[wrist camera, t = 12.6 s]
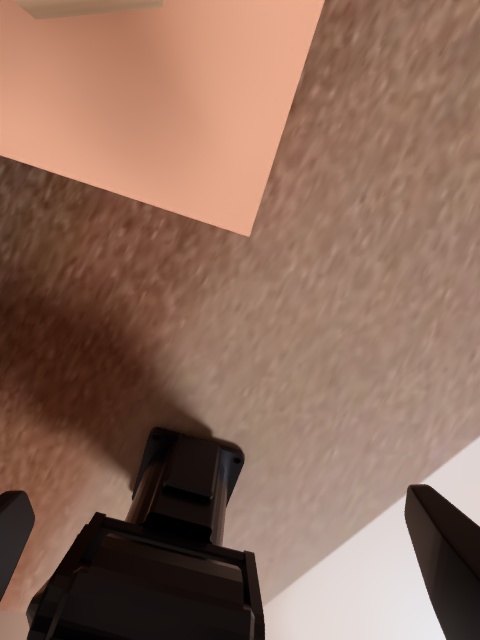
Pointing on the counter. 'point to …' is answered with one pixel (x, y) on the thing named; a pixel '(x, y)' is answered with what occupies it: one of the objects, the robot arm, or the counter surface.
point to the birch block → (82, 7)
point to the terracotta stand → (157, 99)
